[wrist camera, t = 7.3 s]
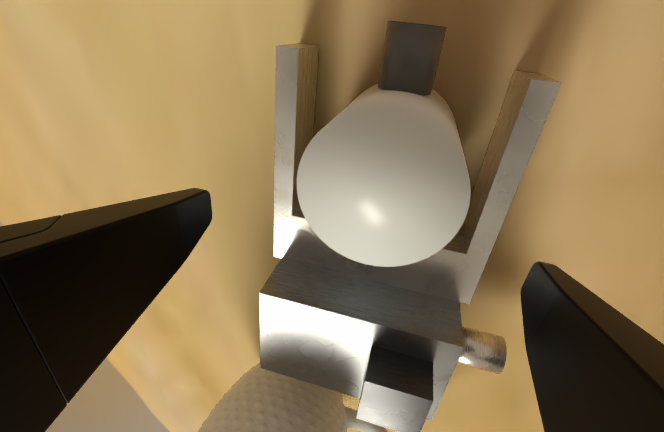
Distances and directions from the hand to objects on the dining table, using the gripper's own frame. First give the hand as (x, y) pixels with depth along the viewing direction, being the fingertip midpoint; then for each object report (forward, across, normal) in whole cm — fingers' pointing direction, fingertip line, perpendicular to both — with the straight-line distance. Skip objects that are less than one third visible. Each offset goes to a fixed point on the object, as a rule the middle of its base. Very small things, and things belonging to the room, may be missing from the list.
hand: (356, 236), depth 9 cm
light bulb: (+10, 0, -1) cm, 10 cm away
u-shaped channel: (+10, -1, +5) cm, 11 cm away
